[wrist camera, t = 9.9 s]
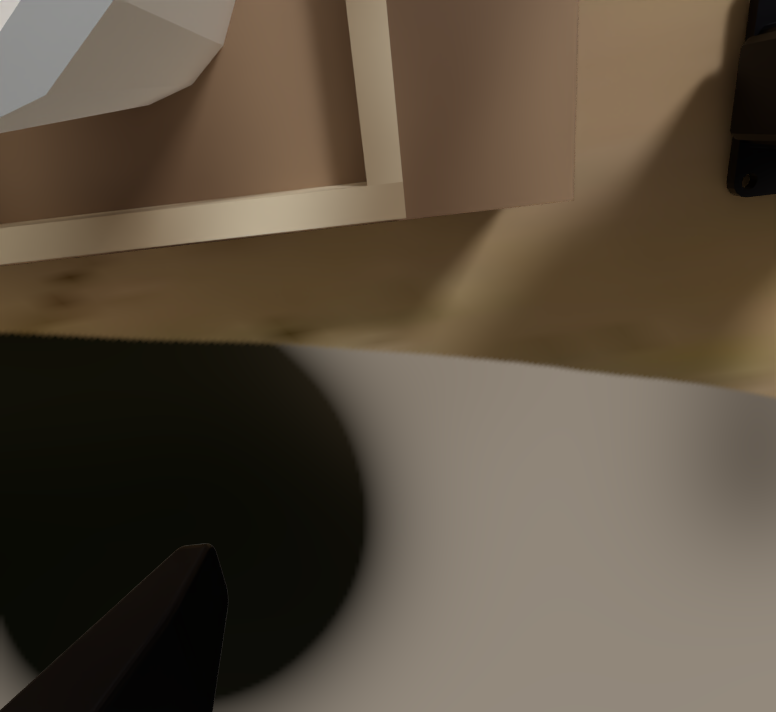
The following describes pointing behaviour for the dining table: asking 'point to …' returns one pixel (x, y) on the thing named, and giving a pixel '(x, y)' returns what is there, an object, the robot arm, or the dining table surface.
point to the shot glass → (101, 55)
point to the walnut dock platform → (312, 130)
